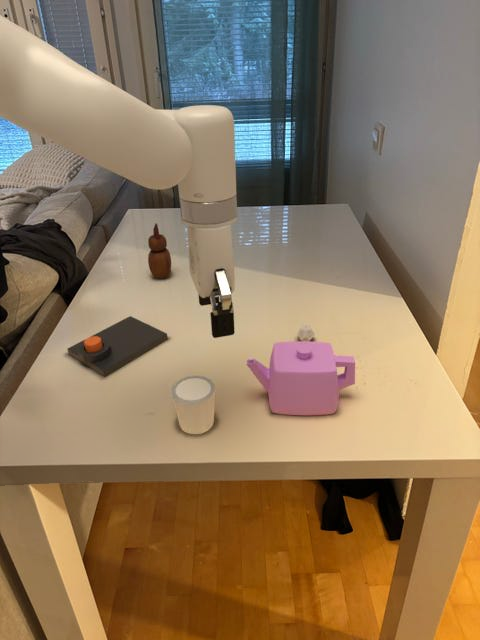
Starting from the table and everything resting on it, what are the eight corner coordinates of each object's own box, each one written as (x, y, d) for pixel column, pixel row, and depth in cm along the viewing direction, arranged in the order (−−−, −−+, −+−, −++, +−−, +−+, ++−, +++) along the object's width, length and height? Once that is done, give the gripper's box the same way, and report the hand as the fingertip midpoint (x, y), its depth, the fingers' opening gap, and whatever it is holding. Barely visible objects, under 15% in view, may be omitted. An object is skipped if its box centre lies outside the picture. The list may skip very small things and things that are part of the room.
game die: (296, 344, 94) (296, 331, 93) (297, 334, 97) (298, 322, 96) (313, 345, 94) (314, 333, 92) (314, 335, 97) (315, 323, 95)
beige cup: (216, 437, 73) (213, 403, 69) (172, 437, 73) (167, 403, 70) (219, 407, 79) (216, 374, 75) (178, 407, 79) (174, 375, 75)
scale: (102, 378, 87) (99, 365, 85) (66, 355, 93) (62, 343, 92) (167, 339, 97) (166, 326, 96) (131, 321, 104) (129, 309, 102)
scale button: (92, 354, 89) (90, 347, 88) (82, 349, 90) (80, 341, 89) (105, 347, 91) (104, 339, 90) (96, 341, 92) (94, 334, 92)
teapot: (246, 416, 77) (245, 367, 71) (248, 377, 86) (247, 330, 80) (357, 418, 76) (364, 367, 70) (347, 377, 85) (353, 330, 79)
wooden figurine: (171, 280, 121) (165, 225, 113) (149, 281, 121) (141, 226, 113) (173, 269, 127) (167, 216, 119) (152, 270, 127) (144, 217, 119)
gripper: (171, 193, 68) (182, 296, 77) (192, 233, 54) (202, 354, 63) (221, 188, 70) (226, 290, 79) (254, 226, 55) (256, 345, 64)
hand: (215, 318), depth 71 cm, fingers open, 9 cm apart
